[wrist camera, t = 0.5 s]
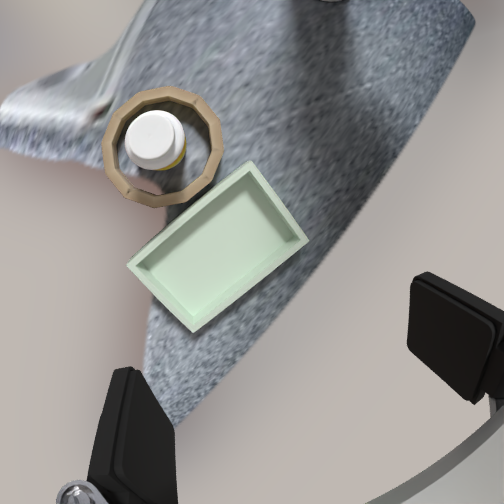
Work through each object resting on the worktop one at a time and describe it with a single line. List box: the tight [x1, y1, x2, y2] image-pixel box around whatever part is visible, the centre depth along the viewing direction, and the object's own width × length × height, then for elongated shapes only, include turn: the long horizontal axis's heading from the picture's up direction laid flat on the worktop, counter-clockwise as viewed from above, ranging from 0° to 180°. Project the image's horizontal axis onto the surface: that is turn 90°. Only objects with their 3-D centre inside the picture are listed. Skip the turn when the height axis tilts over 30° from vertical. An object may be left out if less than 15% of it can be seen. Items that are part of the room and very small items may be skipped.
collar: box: [101, 86, 224, 208], centre depth 30 cm, size 13×13×2 cm
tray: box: [126, 161, 309, 333], centre depth 34 cm, size 18×12×3 cm, turn 128°
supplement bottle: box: [125, 110, 186, 170], centre depth 26 cm, size 6×6×10 cm
